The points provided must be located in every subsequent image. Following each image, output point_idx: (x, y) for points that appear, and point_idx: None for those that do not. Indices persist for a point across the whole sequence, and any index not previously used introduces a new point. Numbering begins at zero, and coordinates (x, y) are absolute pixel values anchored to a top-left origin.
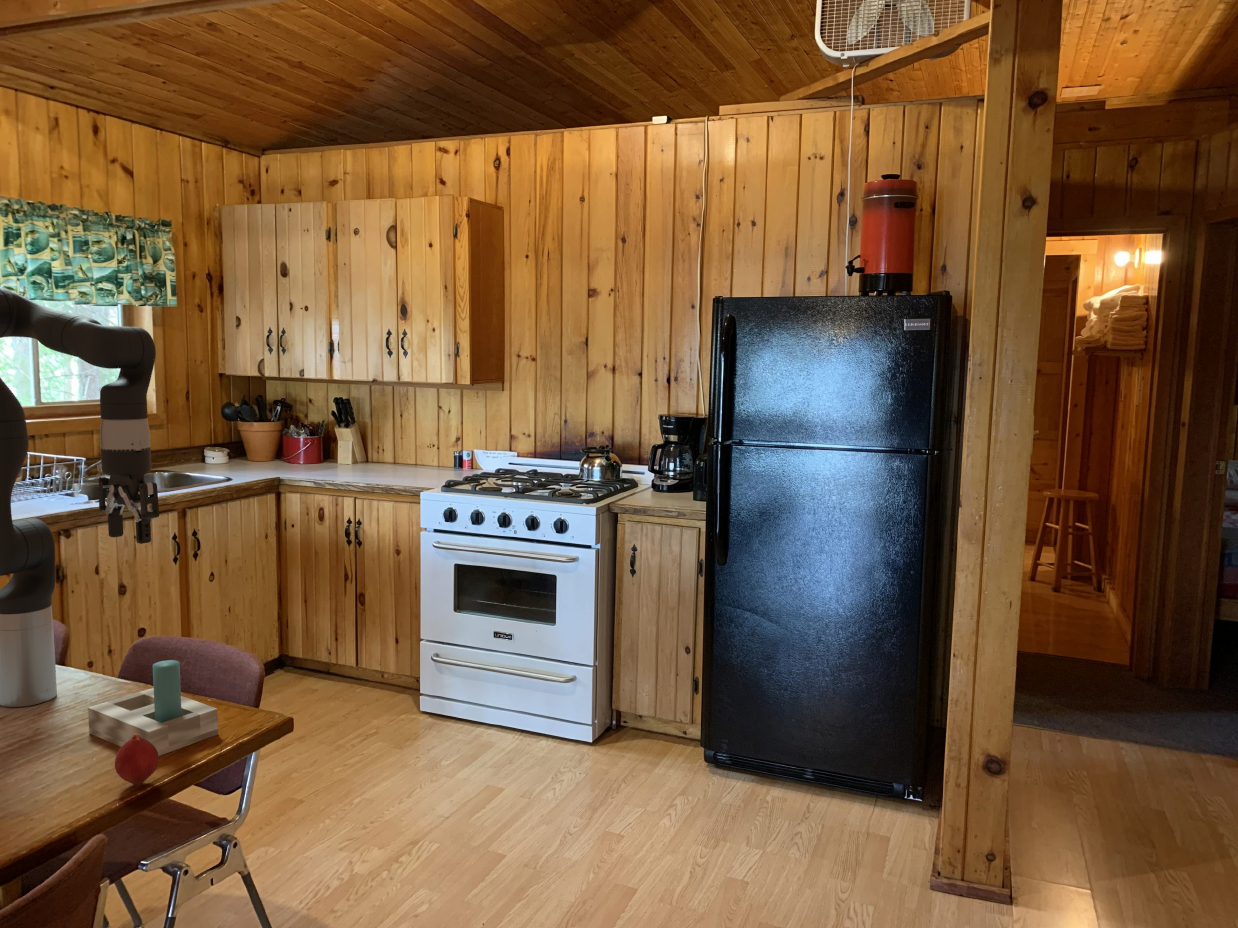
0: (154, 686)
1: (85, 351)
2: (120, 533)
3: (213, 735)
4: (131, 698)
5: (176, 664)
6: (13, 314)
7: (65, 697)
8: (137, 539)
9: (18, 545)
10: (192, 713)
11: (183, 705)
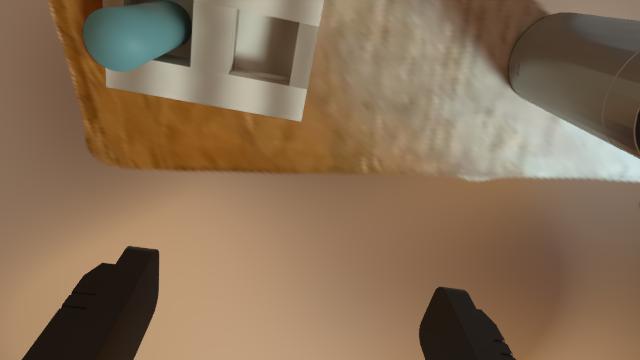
0: (138, 7)
1: None
2: (426, 334)
3: None
4: (293, 61)
5: (92, 50)
6: None
7: (493, 90)
8: (132, 258)
9: None
10: None
11: (174, 73)
